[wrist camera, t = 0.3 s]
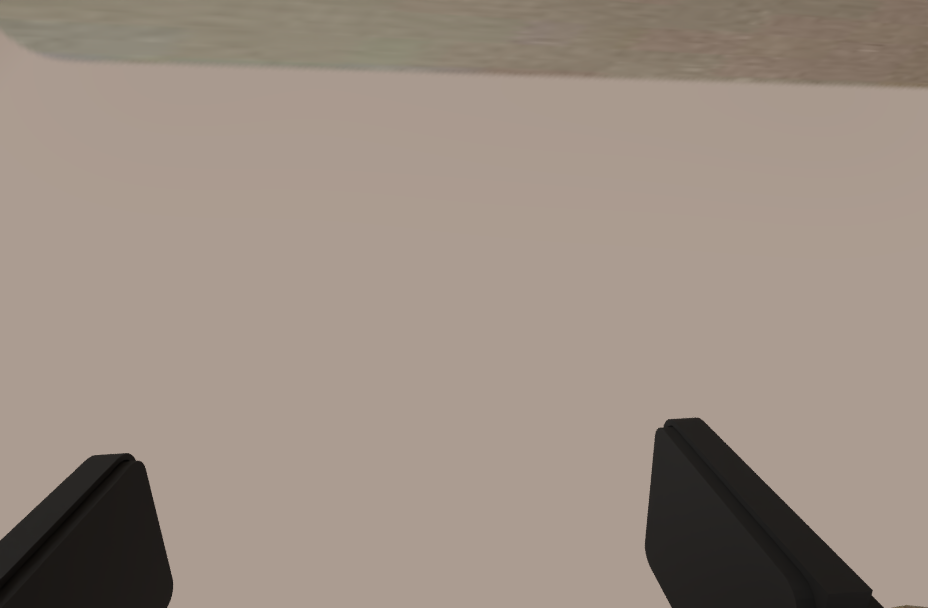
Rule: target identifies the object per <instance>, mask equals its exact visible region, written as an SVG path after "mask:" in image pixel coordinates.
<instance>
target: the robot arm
mask: <svg viewBox="0 0 928 608" xmlns="http://www.w3.org/2000/svg"><path fill="white" fill-rule="evenodd" d="M645 551H646V556H647V560H648V563H649V565H650V567H651V569H652V571H653V573H654V575H655V577H656V579H657V581H658V582H659V584H660V586H661V588H662V590H663V592H664V594H665V595H666V598H667V599H668V601H669V603H670V605H671V607H672V608H884V607H882V605H881V604H880V603H878V601H877V600H876V599H875V598H874V597H873V596H872V591H873V590H872V589H871V588H870V587H869V586H868V585H867V584H866V583H865V582H864V581H863V580H862V579H861V578H860V577H859V576H858V575H857V574H856V573H855V572H854V571H853V570H852V569H851V568H850V567H849V566H848V565H847V564H846V563H845V562H844V561H843V560H842V559H841V558H840V557H839V556H838V555H837V554H836V553H835V552H834V551H833V550H832V549H831V548H830V547H829V546H828V545H827V544H826V543H825V542H824V541H823V540H822V539H821V538H820V537H819V536H818V535H817V534H816V533H815V532H814V531H813V530H812V529H811V528H810V527H809V526H808V525H807V524H806V523H805V522H804V521H803V520H802V519H801V518H800V517H799V516H798V515H797V514H796V513H795V512H794V511H793V510H792V509H791V508H790V507H789V506H788V505H787V504H786V503H785V502H784V501H783V500H782V499H781V498H780V497H779V496H778V495H777V494H776V493H775V492H774V491H773V490H772V489H771V488H770V487H769V486H768V485H767V484H766V483H765V482H764V481H763V480H762V479H761V478H760V477H759V476H758V475H757V474H756V473H755V472H754V471H753V470H752V469H751V468H750V467H749V466H748V465H747V464H746V463H745V462H744V461H743V460H742V459H741V458H740V457H739V456H738V455H737V454H736V453H735V452H734V451H733V450H732V449H731V448H730V447H729V446H728V445H727V444H726V443H725V442H724V441H723V440H722V439H721V438H720V437H719V436H718V435H717V434H716V433H715V432H714V431H713V430H712V429H711V428H710V427H709V426H708V425H707V424H706V423H705V422H704V421H703V420H701V419H700V418H683V419H668V420H667V421H666V422H665V424H664V428H658V429H657V431H656V434H655V442H654V453H653V463H652V474H651V485H650V496H649V506H648V517H647V527H646V539H645ZM172 592H173V579H172V575H171V571H170V566H169V562H168V558H167V554H166V550H165V546H164V542H163V538H162V534H161V530H160V526H159V521H158V517H157V514H156V509H155V505H154V501H153V497H152V493H151V489H150V485H149V480H148V477H147V472H146V468H145V466H144V464H143V463H142V462H141V461H136V460H135V458H134V457H133V456H132V455H131V454H129V453H123V454H107V455H95V456H91V457H90V458H88V459H87V460H86V461H85V462H83V464H81V465H80V466H79V467H78V468H77V469H76V470H75V471H74V472H73V473H72V474H71V475H70V476H69V477H68V478H66V479H65V480H64V481H63V482H62V483H61V484H60V485H59V486H58V487H57V488H56V489H55V490H54V491H53V492H52V493H50V494H49V495H48V497H46V498H45V499H44V500H43V501H42V502H41V503H40V504H39V505H38V506H37V507H36V508H34V509H33V510H32V511H31V512H30V513H29V514H28V515H27V516H26V517H25V518H24V519H23V520H22V521H21V522H20V523H18V524H17V525H16V526H15V527H14V528H13V529H12V530H11V531H10V532H9V533H8V534H7V535H6V536H5V537H4V538H3V539H1V540H0V608H167V606H168V605H169V602H170V600H171V596H172ZM893 608H927V607H919V606H909V605H905V606H899V607H893Z"/></svg>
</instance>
